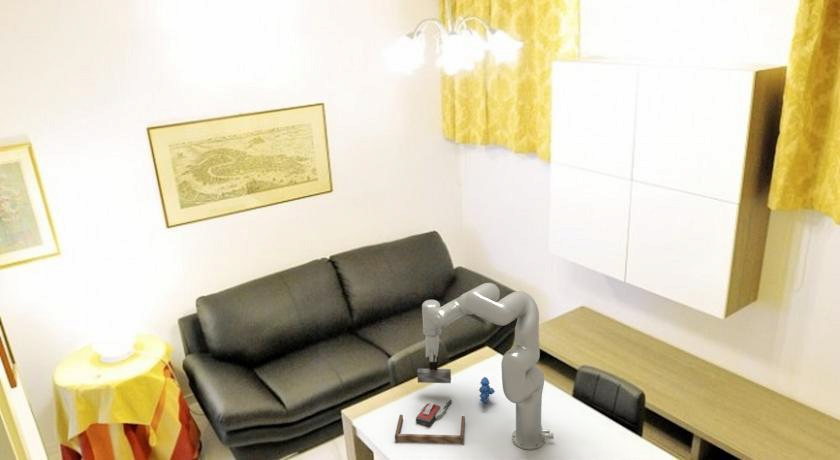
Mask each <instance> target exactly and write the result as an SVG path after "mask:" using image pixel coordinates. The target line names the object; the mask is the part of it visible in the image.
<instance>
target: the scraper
mask: <svg viewBox="0 0 840 460" xmlns="http://www.w3.org/2000/svg"><path fill="white" fill-rule="evenodd" d="M434 359H435V357H434ZM436 361H437V358H436ZM451 372H452V370H451V368H437V370H430V368H417V372H416V373H417V383H419V384H420V383H421V384H422V383H425V384H426V383H428V384H429V383H430V384H451V383H452V382H451V381H452V373H451Z"/></svg>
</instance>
